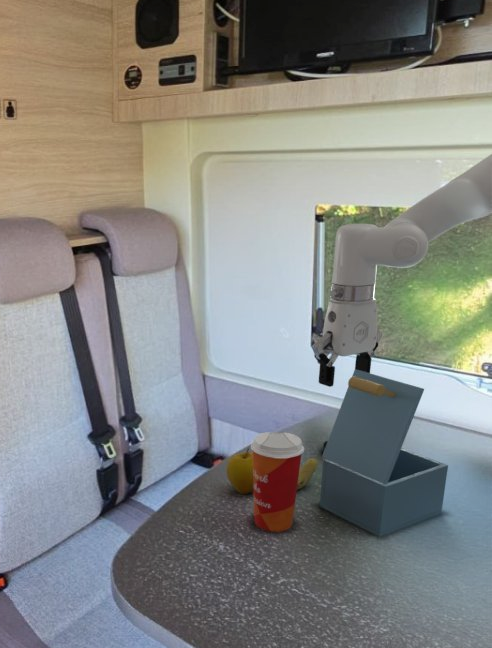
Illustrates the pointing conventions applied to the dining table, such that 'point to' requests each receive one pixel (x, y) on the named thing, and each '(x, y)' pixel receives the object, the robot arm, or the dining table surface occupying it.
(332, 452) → the lid
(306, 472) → the banana
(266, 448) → the coffee cup
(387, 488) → the chest
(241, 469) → the apple
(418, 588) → the dining table surface
